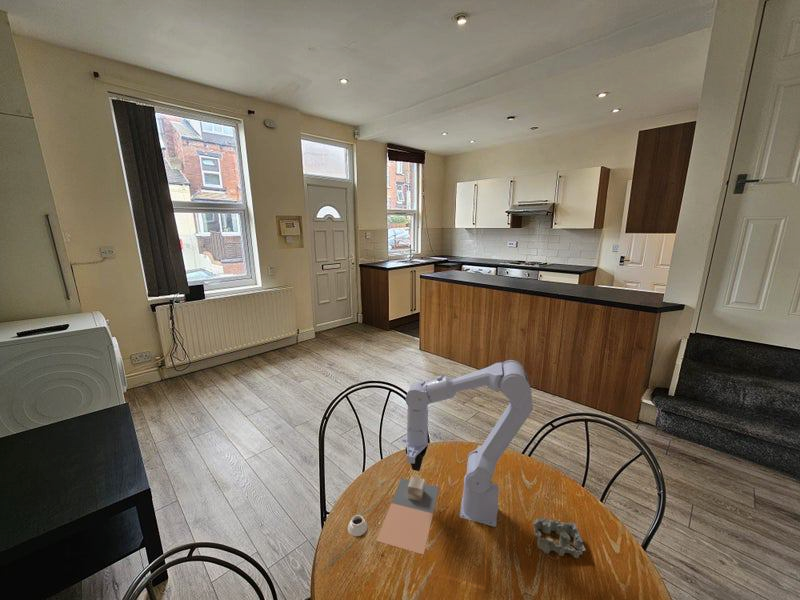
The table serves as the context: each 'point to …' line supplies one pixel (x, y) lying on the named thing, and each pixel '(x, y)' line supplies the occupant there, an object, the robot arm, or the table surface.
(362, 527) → the white jar
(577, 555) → the egg carton
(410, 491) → the cream block
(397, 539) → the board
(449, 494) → the table surface
